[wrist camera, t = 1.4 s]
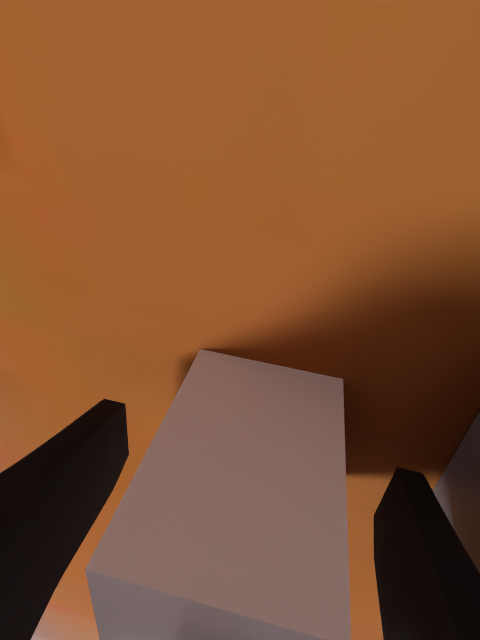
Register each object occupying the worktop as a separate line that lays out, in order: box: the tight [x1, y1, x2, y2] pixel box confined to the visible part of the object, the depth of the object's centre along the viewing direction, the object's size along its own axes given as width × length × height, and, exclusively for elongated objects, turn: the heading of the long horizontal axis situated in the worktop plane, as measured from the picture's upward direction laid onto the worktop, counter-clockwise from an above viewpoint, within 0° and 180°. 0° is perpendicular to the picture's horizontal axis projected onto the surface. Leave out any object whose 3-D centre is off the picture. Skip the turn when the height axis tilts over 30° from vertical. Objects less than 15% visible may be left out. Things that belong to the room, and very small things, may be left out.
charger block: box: [85, 349, 351, 640], centre depth 9 cm, size 4×4×7 cm
